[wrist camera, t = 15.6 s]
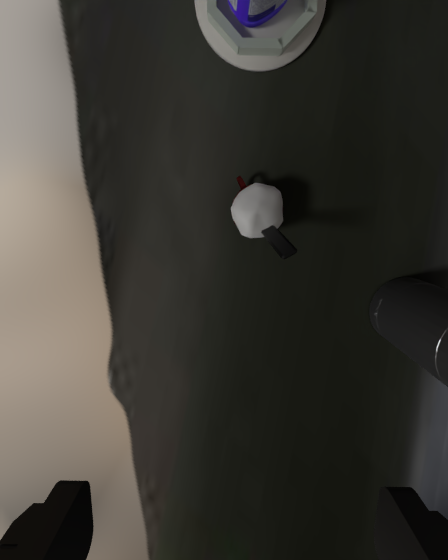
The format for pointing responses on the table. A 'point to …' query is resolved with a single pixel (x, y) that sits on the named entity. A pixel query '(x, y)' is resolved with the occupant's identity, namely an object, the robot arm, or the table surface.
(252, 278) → the table surface
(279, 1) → the bottle
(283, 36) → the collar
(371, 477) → the table surface
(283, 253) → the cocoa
